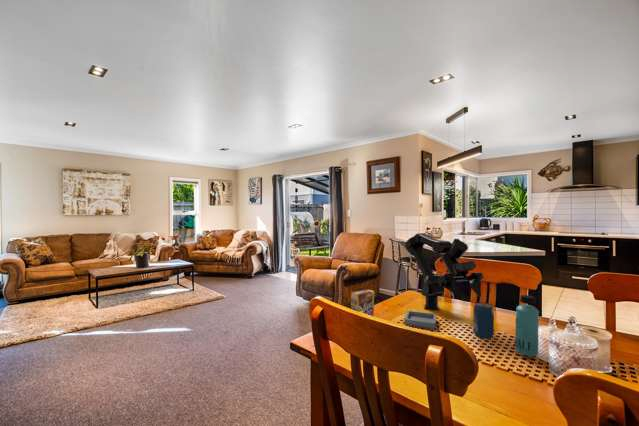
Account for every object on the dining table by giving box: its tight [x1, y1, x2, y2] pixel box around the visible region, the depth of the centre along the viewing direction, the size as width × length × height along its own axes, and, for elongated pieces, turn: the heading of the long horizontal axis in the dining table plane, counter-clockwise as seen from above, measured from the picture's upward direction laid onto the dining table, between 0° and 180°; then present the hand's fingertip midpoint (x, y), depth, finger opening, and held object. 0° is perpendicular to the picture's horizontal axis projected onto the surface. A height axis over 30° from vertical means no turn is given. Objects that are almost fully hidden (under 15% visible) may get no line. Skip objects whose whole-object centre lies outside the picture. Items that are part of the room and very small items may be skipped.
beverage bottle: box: [514, 294, 540, 357], centre depth 99 cm, size 6×7×20 cm
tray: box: [403, 309, 437, 331], centre depth 129 cm, size 12×12×2 cm
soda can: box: [472, 301, 495, 340], centre depth 115 cm, size 7×7×12 cm
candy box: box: [350, 289, 375, 316], centre depth 119 cm, size 9×4×15 cm, turn 123°
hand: (470, 297), depth 122 cm, fingers open, 9 cm apart
